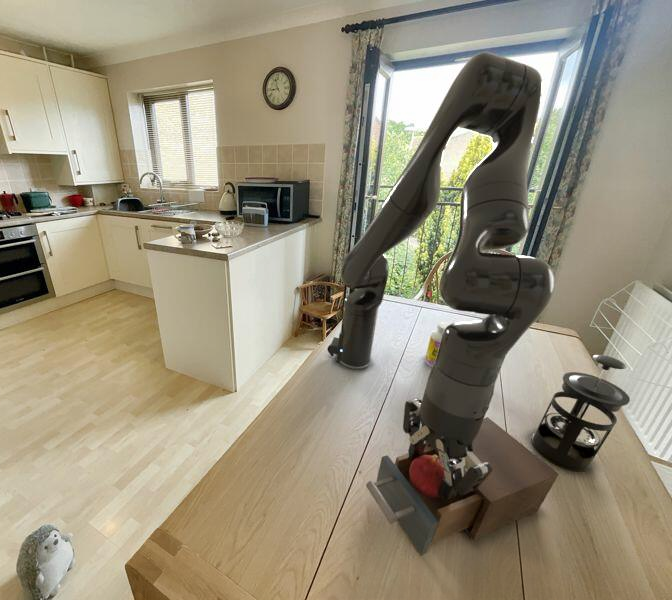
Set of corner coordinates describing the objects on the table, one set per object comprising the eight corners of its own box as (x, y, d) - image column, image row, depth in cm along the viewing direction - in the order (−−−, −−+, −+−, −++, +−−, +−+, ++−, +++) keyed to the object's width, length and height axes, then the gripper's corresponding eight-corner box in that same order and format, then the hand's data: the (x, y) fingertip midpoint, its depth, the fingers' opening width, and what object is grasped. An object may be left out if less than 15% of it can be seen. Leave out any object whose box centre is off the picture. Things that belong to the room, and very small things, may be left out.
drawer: (394, 567, 45) (404, 536, 42) (352, 494, 55) (357, 464, 52) (488, 526, 50) (503, 495, 47) (434, 465, 60) (443, 436, 57)
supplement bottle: (424, 367, 90) (434, 329, 85) (423, 355, 96) (433, 318, 90) (450, 373, 88) (462, 333, 82) (448, 360, 93) (459, 322, 88)
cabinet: (472, 540, 49) (490, 502, 45) (416, 471, 60) (426, 435, 56) (537, 511, 53) (559, 473, 49) (473, 451, 64) (487, 416, 60)
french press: (586, 483, 58) (649, 386, 48) (525, 451, 64) (569, 359, 55) (594, 448, 65) (650, 357, 55) (538, 422, 71) (580, 336, 62)
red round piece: (448, 512, 48) (462, 478, 45) (409, 504, 49) (419, 470, 46) (438, 477, 53) (449, 444, 50) (402, 471, 54) (411, 438, 51)
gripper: (398, 369, 48) (381, 446, 55) (481, 444, 35) (445, 531, 42) (437, 360, 50) (416, 435, 57) (528, 428, 37) (487, 513, 44)
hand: (428, 476), depth 50 cm, fingers closed on red round piece, 6 cm apart
